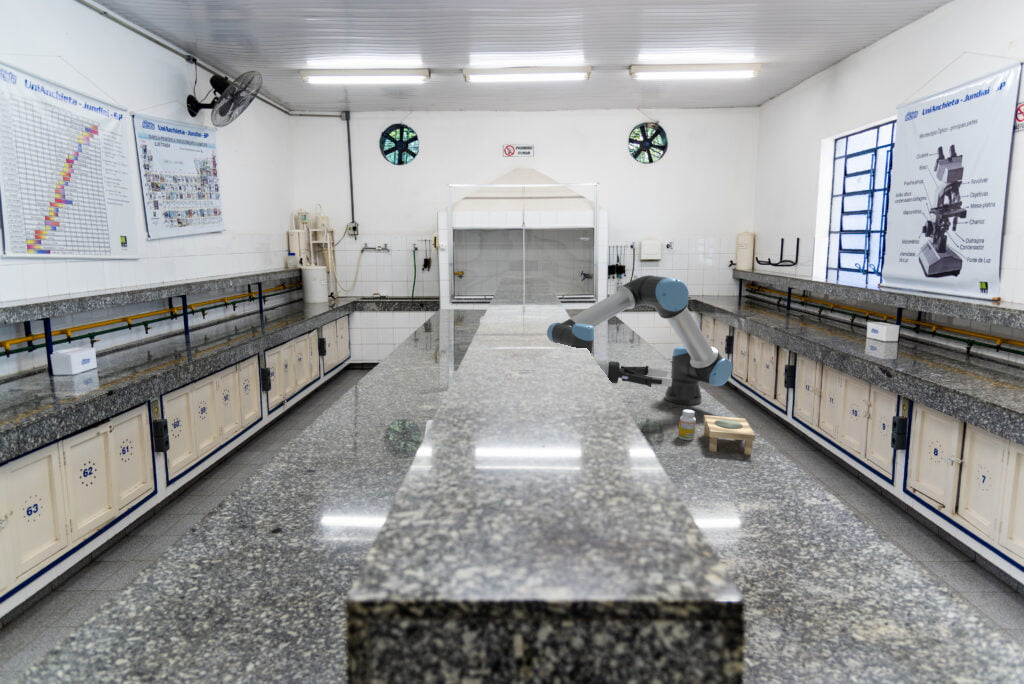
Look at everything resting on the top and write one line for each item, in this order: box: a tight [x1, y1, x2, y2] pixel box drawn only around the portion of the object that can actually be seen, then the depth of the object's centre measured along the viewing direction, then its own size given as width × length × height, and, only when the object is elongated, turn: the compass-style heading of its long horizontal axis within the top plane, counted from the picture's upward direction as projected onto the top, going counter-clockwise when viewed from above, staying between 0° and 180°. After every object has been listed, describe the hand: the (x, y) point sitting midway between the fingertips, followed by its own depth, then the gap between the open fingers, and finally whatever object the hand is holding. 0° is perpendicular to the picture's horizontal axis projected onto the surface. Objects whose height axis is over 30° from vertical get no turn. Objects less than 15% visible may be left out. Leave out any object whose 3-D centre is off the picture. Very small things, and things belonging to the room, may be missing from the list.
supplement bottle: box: [678, 409, 697, 441], centre depth 214 cm, size 5×5×10 cm
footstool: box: [703, 414, 756, 456], centre depth 209 cm, size 18×14×7 cm
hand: (669, 378), depth 212 cm, fingers open, 13 cm apart
